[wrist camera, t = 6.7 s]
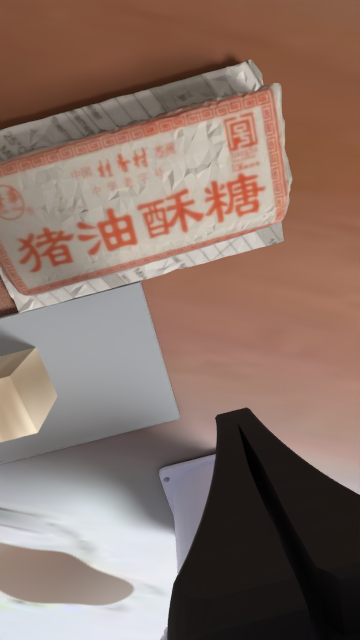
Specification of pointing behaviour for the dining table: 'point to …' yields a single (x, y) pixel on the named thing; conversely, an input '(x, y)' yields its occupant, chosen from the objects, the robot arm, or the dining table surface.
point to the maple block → (23, 394)
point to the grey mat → (92, 369)
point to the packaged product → (142, 186)
